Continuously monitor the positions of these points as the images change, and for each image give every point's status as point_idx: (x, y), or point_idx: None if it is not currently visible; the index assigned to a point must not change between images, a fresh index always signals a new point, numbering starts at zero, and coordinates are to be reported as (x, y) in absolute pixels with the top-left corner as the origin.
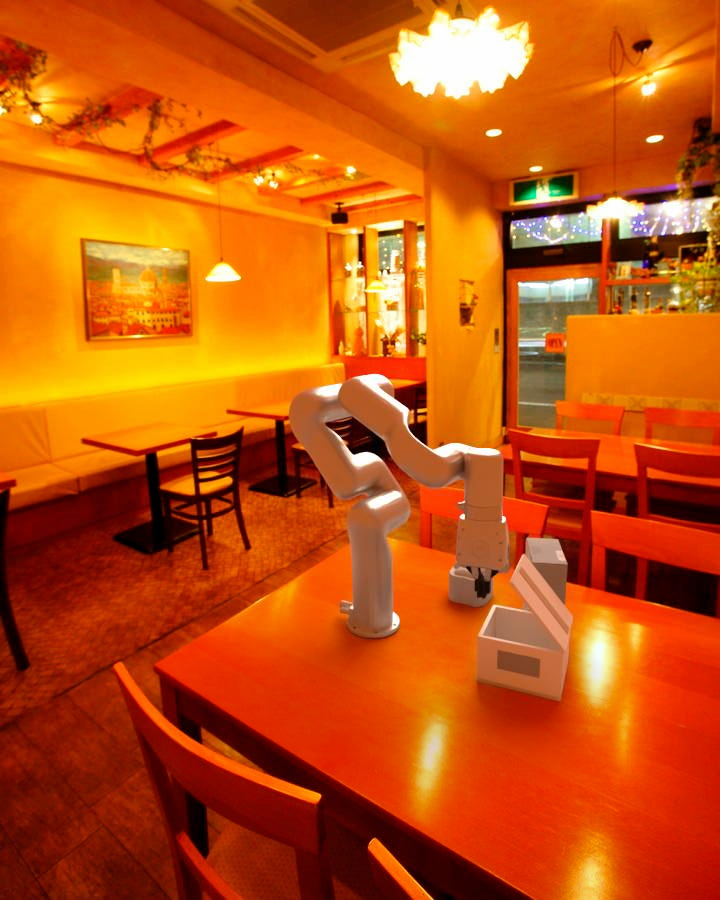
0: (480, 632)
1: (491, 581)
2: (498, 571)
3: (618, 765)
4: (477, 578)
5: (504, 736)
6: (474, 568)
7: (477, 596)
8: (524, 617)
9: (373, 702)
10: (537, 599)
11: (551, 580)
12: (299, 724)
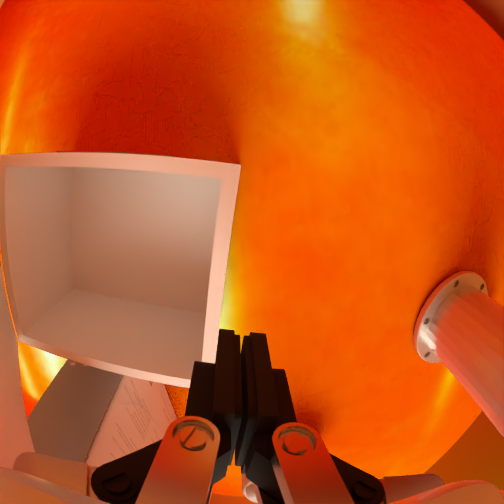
0: (232, 197)
1: (243, 474)
2: (96, 480)
3: (28, 49)
4: (277, 430)
5: (174, 20)
6: (319, 500)
7: (262, 335)
8: (118, 353)
9: (424, 72)
10: None
11: (41, 443)
12: (479, 38)
